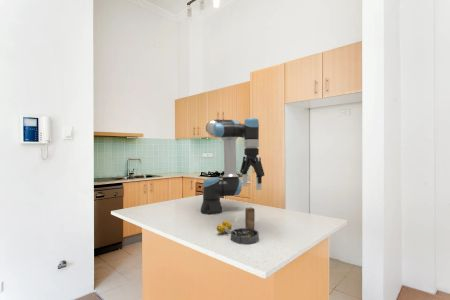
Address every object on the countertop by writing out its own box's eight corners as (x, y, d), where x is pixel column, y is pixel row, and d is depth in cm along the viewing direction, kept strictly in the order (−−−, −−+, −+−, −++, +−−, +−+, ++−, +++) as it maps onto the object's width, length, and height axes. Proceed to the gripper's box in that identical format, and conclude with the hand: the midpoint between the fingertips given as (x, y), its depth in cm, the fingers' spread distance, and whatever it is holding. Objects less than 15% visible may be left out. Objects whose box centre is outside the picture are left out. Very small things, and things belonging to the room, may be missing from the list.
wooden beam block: (245, 230, 130) (245, 207, 130) (251, 229, 131) (251, 207, 131) (248, 232, 127) (248, 209, 127) (254, 231, 128) (254, 208, 128)
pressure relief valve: (213, 232, 124) (226, 228, 132) (232, 242, 116) (244, 236, 124) (215, 222, 123) (227, 218, 131) (233, 231, 116) (245, 226, 124)
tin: (226, 236, 121) (226, 229, 121) (249, 232, 126) (249, 226, 126) (239, 245, 109) (239, 238, 109) (263, 241, 114) (263, 234, 114)
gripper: (234, 147, 139) (234, 185, 139) (258, 147, 116) (258, 192, 116) (245, 147, 142) (245, 184, 142) (271, 147, 119) (271, 191, 119)
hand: (251, 188), depth 129 cm, fingers open, 13 cm apart
